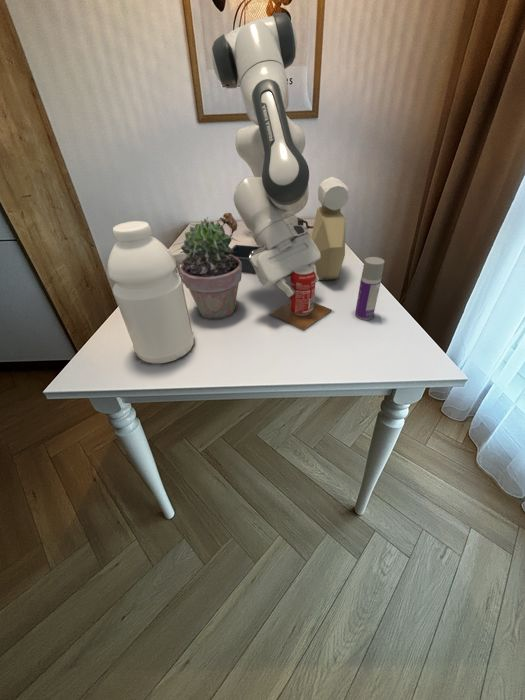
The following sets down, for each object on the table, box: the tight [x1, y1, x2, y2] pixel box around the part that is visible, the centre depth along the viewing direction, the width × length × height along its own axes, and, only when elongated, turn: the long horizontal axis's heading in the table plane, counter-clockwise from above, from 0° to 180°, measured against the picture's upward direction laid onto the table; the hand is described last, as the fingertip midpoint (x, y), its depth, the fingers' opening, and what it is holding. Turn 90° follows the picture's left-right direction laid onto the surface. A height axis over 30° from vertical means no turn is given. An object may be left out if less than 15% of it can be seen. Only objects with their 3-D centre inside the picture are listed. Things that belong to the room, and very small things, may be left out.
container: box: [354, 256, 386, 321], centre depth 77 cm, size 5×5×15 cm
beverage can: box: [289, 265, 317, 316], centre depth 80 cm, size 6×6×12 cm
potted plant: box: [171, 212, 245, 320], centre depth 79 cm, size 18×20×25 cm
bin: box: [229, 244, 259, 275], centre depth 109 cm, size 12×12×5 cm
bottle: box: [106, 220, 195, 364], centre depth 66 cm, size 14×14×28 cm
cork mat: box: [271, 302, 332, 331], centre depth 84 cm, size 12×11×1 cm
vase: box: [310, 176, 349, 281], centre depth 94 cm, size 12×24×28 cm, turn 1°
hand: (304, 288), depth 79 cm, fingers open, 8 cm apart
